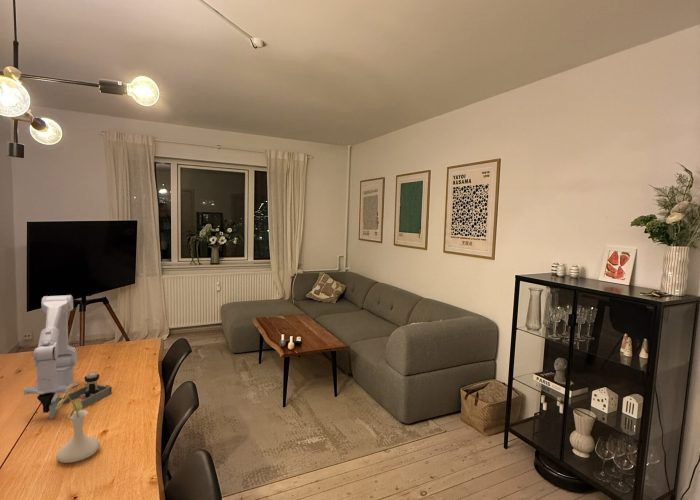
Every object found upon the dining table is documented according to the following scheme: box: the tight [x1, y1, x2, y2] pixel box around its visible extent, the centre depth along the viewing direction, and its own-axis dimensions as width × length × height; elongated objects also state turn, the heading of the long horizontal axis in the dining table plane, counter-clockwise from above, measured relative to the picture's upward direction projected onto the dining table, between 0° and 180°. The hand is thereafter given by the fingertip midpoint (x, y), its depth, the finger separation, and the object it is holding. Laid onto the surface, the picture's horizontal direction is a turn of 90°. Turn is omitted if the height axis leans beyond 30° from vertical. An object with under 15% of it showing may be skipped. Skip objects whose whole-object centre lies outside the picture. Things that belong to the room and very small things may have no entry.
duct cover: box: [48, 393, 60, 420], centre depth 143 cm, size 12×1×5 cm, turn 28°
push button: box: [80, 371, 101, 399], centre depth 155 cm, size 7×5×10 cm
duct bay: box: [59, 384, 113, 410], centre depth 154 cm, size 11×14×3 cm
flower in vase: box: [55, 384, 101, 464], centre depth 116 cm, size 13×11×25 cm
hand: (47, 411), depth 139 cm, fingers closed, pressing on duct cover
